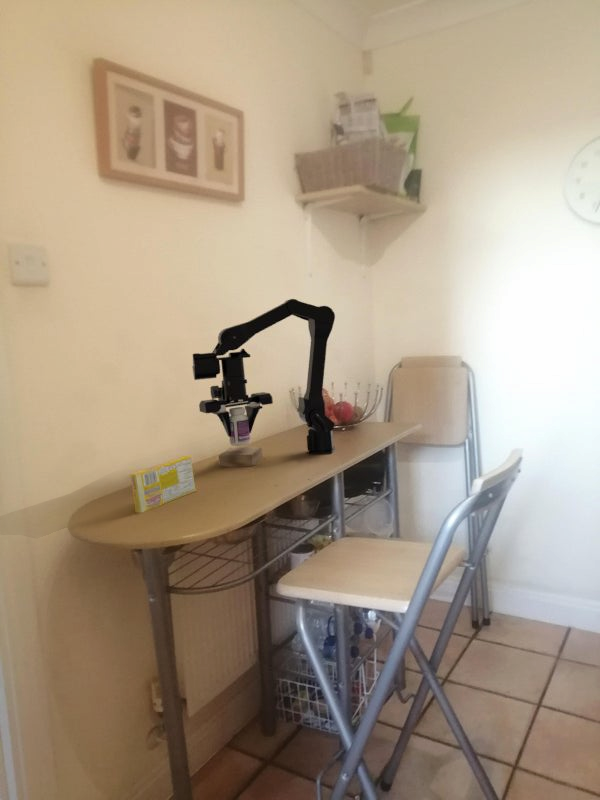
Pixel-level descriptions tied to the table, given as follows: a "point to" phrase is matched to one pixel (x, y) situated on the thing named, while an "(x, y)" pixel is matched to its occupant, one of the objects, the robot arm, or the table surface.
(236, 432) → the pill bottle
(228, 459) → the tan flat square block
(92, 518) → the table surface
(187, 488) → the candy box
